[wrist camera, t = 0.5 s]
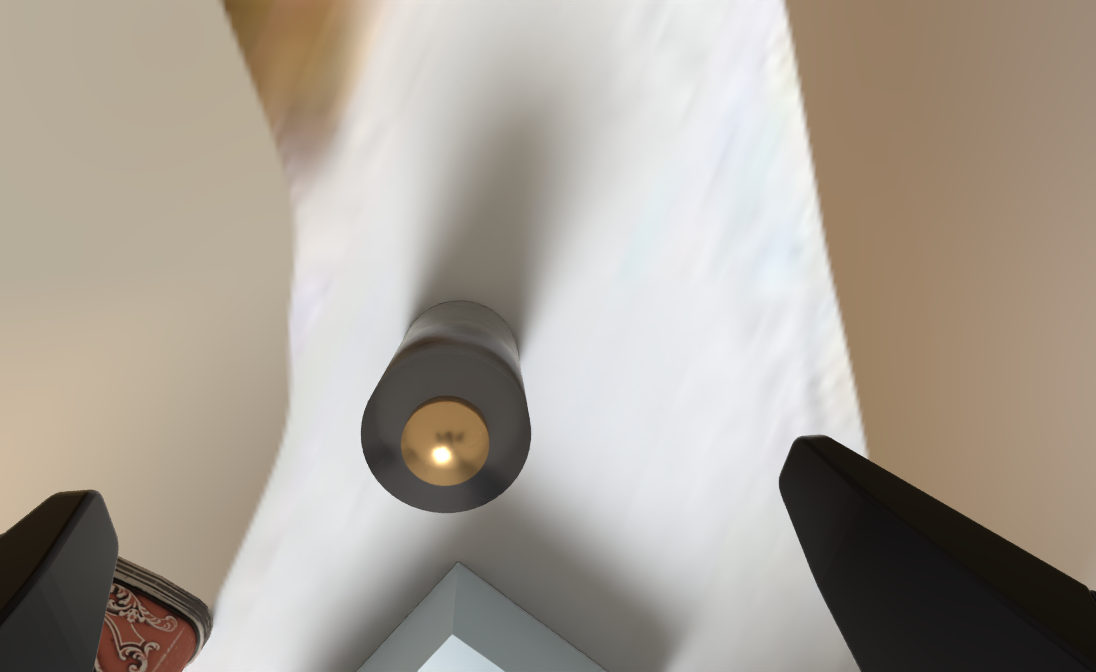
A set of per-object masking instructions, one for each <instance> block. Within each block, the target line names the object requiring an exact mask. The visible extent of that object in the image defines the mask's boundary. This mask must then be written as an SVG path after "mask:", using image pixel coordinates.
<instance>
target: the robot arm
mask: <svg viewBox="0 0 1096 672" xmlns="http://www.w3.org/2000/svg"><path fill="white" fill-rule="evenodd" d="M779 489H780V493H781V496H782V498H783V501H784V503H785V506H786V509H787V511H788V514H789V516H790V519H791V521H792V524H793V526H794V529H795V531H796V534H797V536H798V539H799V541H800V544H801V546H802V549H803V552H804V554H805V557H806V559H807V562H808V564H809V567H810V569H811V572H812V574H813V576H814V579H815V581H816V583H817V586H818V588H819V590H820V592H821V594H822V596H823V598H824V600H825V602H826V604H827V606H828V608H829V610H830V612H831V614H832V616H833V618H834V620H835V622H836V624H837V626H838V628H839V630H840V632H841V634H842V635H843V637H844V639H845V641H846V643H847V645H848V647H849V649H850V651H851V653H852V655H853V657H854V659H855V661H856V663H857V665H858V667H859V669H860V671H861V672H1096V591H1093V590H1090V591H1089V589H1088V588H1087V586H1085V585H1084V584H1081V583H1080V582H1078V581H1077V580H1075V579H1073V578H1072V577H1070V576H1068V575H1066V574H1065V573H1063V572H1061V571H1059V570H1057V569H1056V568H1054V567H1052V566H1051V565H1049V564H1047V563H1046V562H1044V561H1042V560H1040V559H1039V558H1037V557H1035V556H1033V555H1032V554H1030V553H1028V552H1027V551H1025V550H1023V549H1021V548H1020V547H1018V546H1016V545H1015V544H1013V543H1011V542H1009V541H1007V540H1006V539H1004V538H1002V537H1001V536H999V535H997V534H996V533H994V532H992V531H990V530H989V529H987V528H985V527H983V526H982V525H980V524H978V523H976V522H975V521H973V520H971V519H970V518H968V517H966V516H964V515H963V514H961V513H959V512H958V511H956V510H954V509H952V508H951V507H949V506H947V505H945V504H944V503H942V502H940V501H939V500H937V499H935V498H933V497H932V496H930V495H928V494H926V493H925V492H923V491H921V490H920V489H918V488H916V487H914V486H912V485H911V484H909V483H907V482H906V481H904V480H902V479H900V478H899V477H897V476H895V475H894V474H892V473H890V472H888V471H887V470H885V469H883V468H881V467H879V466H878V465H876V464H875V463H873V462H871V461H870V460H868V459H866V458H864V457H863V456H861V455H859V454H857V453H856V452H854V451H852V450H851V449H849V448H847V447H845V446H844V445H842V444H840V443H838V442H837V441H835V440H833V439H832V438H830V437H828V436H825V435H809V436H800V437H798V438H797V439H796V440H795V441H794V442H793V444H792V446H791V449H790V451H789V454H788V456H787V458H786V461H785V463H784V466H783V468H782V471H781V473H780V476H779ZM117 558H118V539H117V535H116V532H115V529H114V527H113V524H112V521H111V518H110V516H109V513H108V510H107V507H106V505H105V502H104V499H103V497H102V495H101V494H100V493H99V492H98V491H95V490H81V491H67V492H59V493H56V494H54V495H52V496H50V497H49V498H48V499H46V500H45V501H44V502H42V503H41V504H40V505H39V506H38V507H36V508H35V509H34V510H33V511H31V512H30V513H29V514H28V515H26V516H25V517H24V518H23V519H21V520H20V521H19V522H18V523H16V524H15V525H14V526H13V527H11V528H10V529H9V530H8V531H6V533H4V534H3V535H1V536H0V672H93V670H94V666H95V661H96V657H97V652H98V647H99V642H100V638H101V633H102V628H103V624H104V619H105V614H106V610H107V605H108V600H109V596H110V591H111V586H112V582H113V577H114V572H115V568H116V563H117Z"/></svg>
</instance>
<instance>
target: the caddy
mask: <svg viewBox="0 0 1096 672" xmlns="http://www.w3.org/2000/svg"><path fill="white" fill-rule="evenodd" d="M356 672H607V671H606V670H604V669H603V668H602V667H600V666H599V665H598V664H596V663H595V662H593V661H592V660H591V659H589V658H588V657H587V656H585V655H584V654H583V653H581V652H580V651H579V650H577V649H576V648H575V647H573V646H572V645H570V644H569V643H568V642H566V641H565V640H564V639H562V638H561V637H560V636H558V635H557V634H556V633H554V632H553V631H551V630H550V629H549V628H547V627H546V626H545V625H543V624H542V623H541V622H539V621H538V620H537V619H535V618H534V617H532V616H531V615H530V614H528V613H527V612H526V611H524V610H523V609H522V608H520V607H519V606H518V605H516V604H515V603H513V602H512V601H511V600H509V599H508V598H507V597H505V596H504V595H503V594H501V593H500V592H499V591H497V590H496V589H495V588H493V587H492V586H490V585H489V584H488V583H486V582H485V581H484V580H482V579H481V578H480V577H478V576H477V575H476V574H474V573H473V572H471V571H470V570H469V569H467V568H466V567H465V566H463V565H462V564H461V563H459V562H458V563H457V564H456V565H455V566H454V567H453V568H452V569H451V570H450V571H449V572H448V573H447V574H446V575H445V577H444V578H443V579H442V580H441V581H440V582H439V583H438V584H437V585H436V586H435V587H434V588H433V589H432V591H431V592H430V593H429V594H428V595H427V596H426V597H425V598H424V599H423V600H422V601H421V602H420V603H419V604H418V606H417V607H416V608H415V609H414V610H413V611H412V612H411V613H410V614H409V615H408V616H407V617H406V618H405V620H404V621H403V622H402V623H401V624H400V625H399V626H398V627H397V628H396V629H395V630H394V631H393V632H392V634H391V635H390V636H389V637H388V638H387V639H386V640H385V641H384V642H383V643H382V644H381V645H380V646H379V648H378V649H377V650H376V651H375V652H374V653H373V654H372V655H371V656H370V657H369V658H368V659H367V660H366V662H365V663H364V664H363V665H362V666H361V667H360V668H359V669H358V670H357V671H356Z"/></svg>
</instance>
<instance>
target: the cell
mask: <svg viewBox="0 0 1096 672" xmlns="http://www.w3.org/2000/svg"><path fill="white" fill-rule="evenodd" d="M530 442H531V426H530V418H529V413H528V407H527V401H526V395H525V390H524V384H523V378H522V373H521V367H520V361H519V355H518V350H517V345H516V341H515V338H514V336H513V334H512V332H511V330H510V328H509V327H508V325H507V324H506V323H505V321H504V320H503V319H502V318H501V317H500V316H499V315H498V314H496V313H495V312H493V311H492V310H490V309H489V308H487V307H485V306H482V305H480V304H477V303H473V302H467V301H451V302H446V303H442V304H439V305H437V306H434V307H432V308H430V309H429V310H427V311H425V312H424V313H423V314H422V315H420V316H419V317H418V318H417V319H416V320H415V321H414V323H413V324H412V325H411V327H410V329H409V330H408V332H407V334H406V336H405V337H404V339H403V341H402V343H401V344H400V346H399V348H398V350H397V351H396V353H395V355H394V357H393V358H392V360H391V362H390V364H389V365H388V367H387V369H386V371H385V372H384V374H383V376H382V378H381V379H380V381H379V383H378V385H377V386H376V388H375V390H374V392H373V394H372V395H371V397H370V399H369V401H368V403H367V405H366V408H365V411H364V414H363V419H362V425H361V443H362V448H363V453H364V456H365V459H366V462H367V464H368V466H369V468H370V470H371V472H372V474H373V475H374V476H375V478H376V479H377V481H378V482H379V483H380V484H381V485H382V486H383V487H384V488H385V489H386V490H387V491H388V492H389V493H390V494H391V495H393V496H394V497H396V498H397V499H399V500H400V501H402V502H404V503H406V504H408V505H410V506H412V507H415V508H418V509H421V510H425V511H430V512H438V513H455V512H462V511H467V510H470V509H474V508H477V507H479V506H482V505H484V504H486V503H488V502H490V501H492V500H493V499H495V498H496V497H498V496H499V495H500V494H502V493H503V492H504V491H505V490H506V489H507V488H508V487H509V486H510V485H511V484H512V483H513V482H514V480H515V479H516V478H517V476H518V475H519V473H520V472H521V470H522V468H523V466H524V464H525V461H526V459H527V456H528V452H529V448H530Z"/></svg>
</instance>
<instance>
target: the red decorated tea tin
mask: <svg viewBox="0 0 1096 672" xmlns="http://www.w3.org/2000/svg"><path fill="white" fill-rule="evenodd" d="M3 534H4V533H3ZM3 534H1V535H3ZM1 535H0V536H1ZM212 627H213V622H212V615H211V613H210V611H209V609H208V607H207V605H205V604H204V603H203V602H202V601H201V600H200V599H199V598H197V597H195V596H193V595H192V594H190V593H189V592H187V591H185V590H184V589H182V588H180V587H179V586H177V585H175V584H174V583H172V582H170V581H168V580H167V579H165V578H163V577H162V576H160V575H157V574H155V573H153V572H151V571H149V570H147V569H144V568H142V567H140V566H138V565H136V564H134V563H132V562H130V561H127V560H125V559H123V558H121V557H119V556H118V558H117V563H116V568H115V572H114V577H113V582H112V586H111V591H110V596H109V600H108V605H107V610H106V614H105V619H104V624H103V628H102V633H101V638H100V642H99V647H98V652H97V657H96V661H95V666H94V670H93V672H182V671H183V669H184V668H185V667H186V666H188V665H189V664H191V663H192V662H193V661H194V660H195V658H196V657H197V656H198V654H199V653H200V651H201V650H202V648H203V647H204V645H205V643H206V642H207V640H208V639H209V637H210V634H211V631H212Z"/></svg>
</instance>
